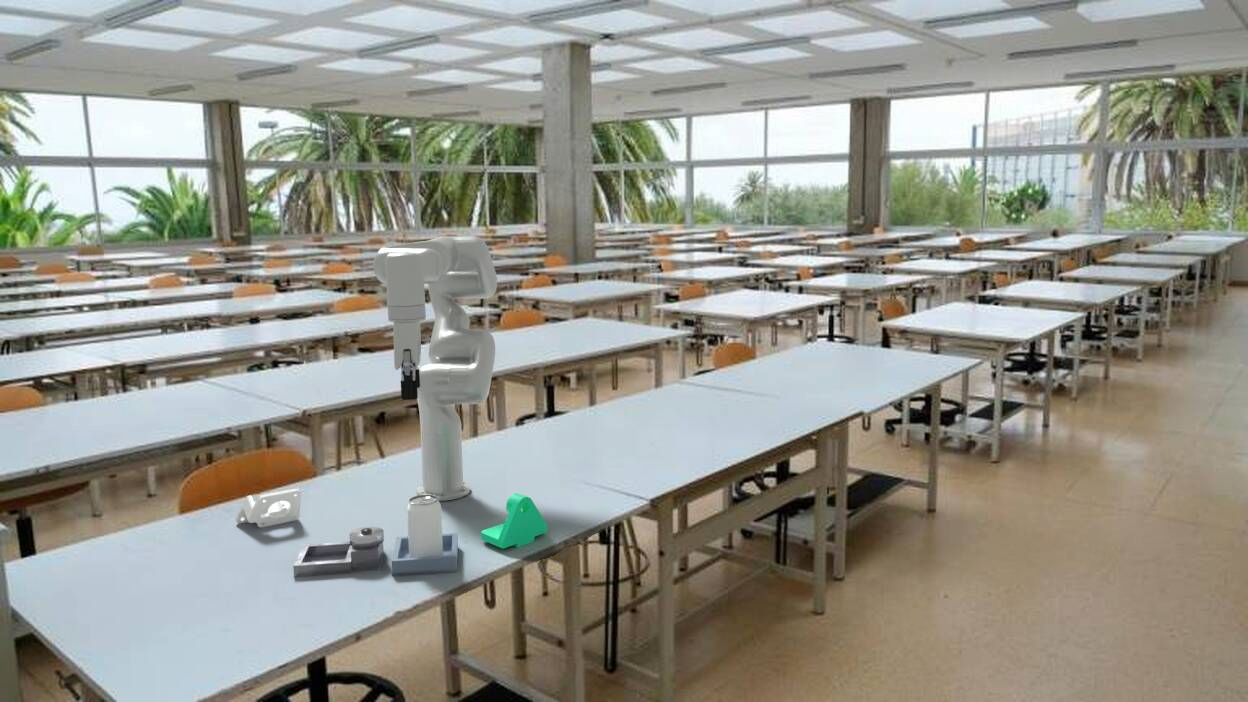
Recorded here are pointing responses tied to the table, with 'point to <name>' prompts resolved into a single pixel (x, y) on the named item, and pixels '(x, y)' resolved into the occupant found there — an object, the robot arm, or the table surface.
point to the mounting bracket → (271, 508)
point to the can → (424, 526)
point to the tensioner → (360, 554)
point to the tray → (425, 558)
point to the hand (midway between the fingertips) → (411, 393)
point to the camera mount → (517, 524)
